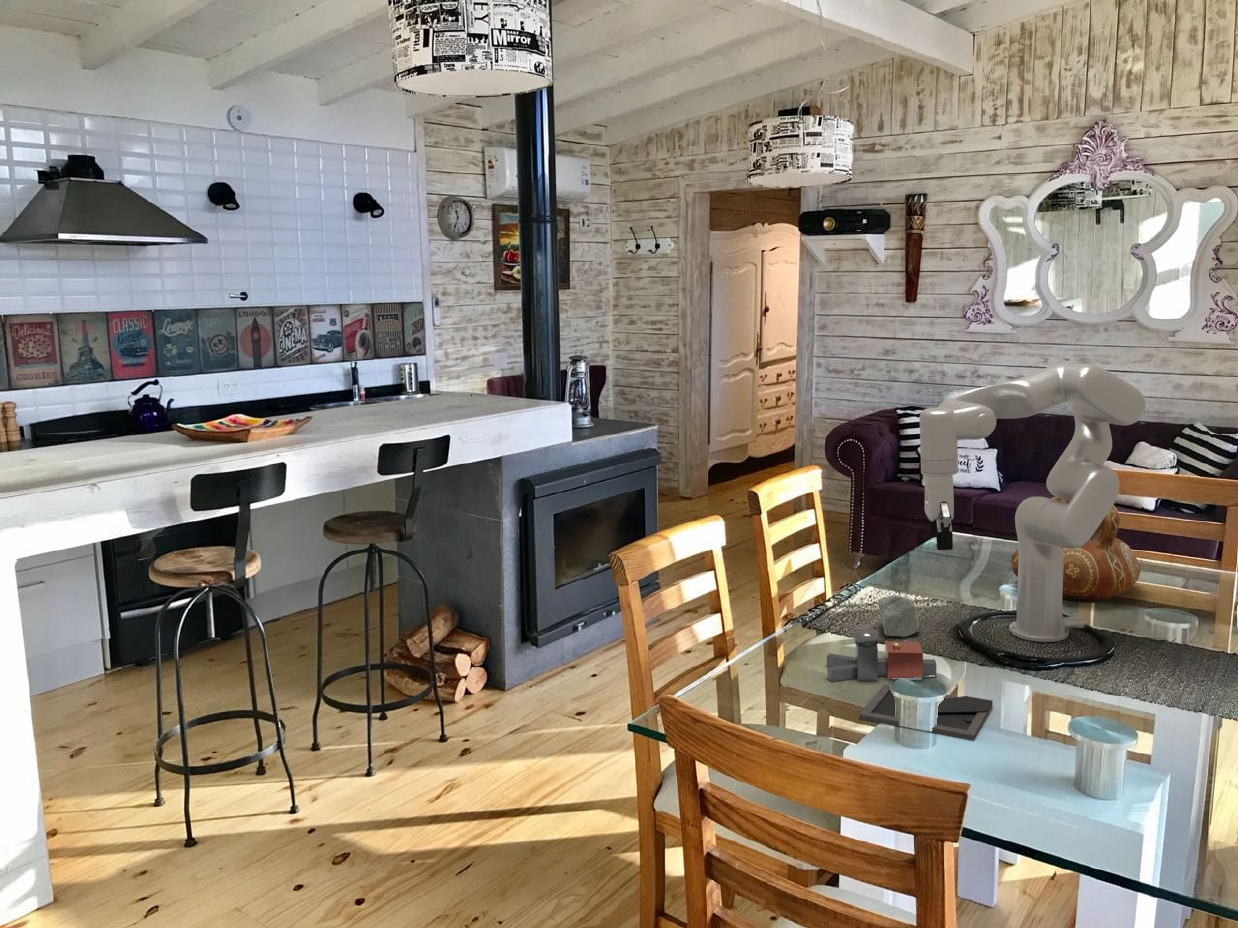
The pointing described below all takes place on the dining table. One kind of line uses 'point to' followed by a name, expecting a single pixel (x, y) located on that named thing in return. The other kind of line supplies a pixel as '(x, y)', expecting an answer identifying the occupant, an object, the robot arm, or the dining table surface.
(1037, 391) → the robot arm
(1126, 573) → the jug
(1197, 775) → the dining table surface
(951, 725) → the picture frame
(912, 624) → the decorative stone
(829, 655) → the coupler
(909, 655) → the block
